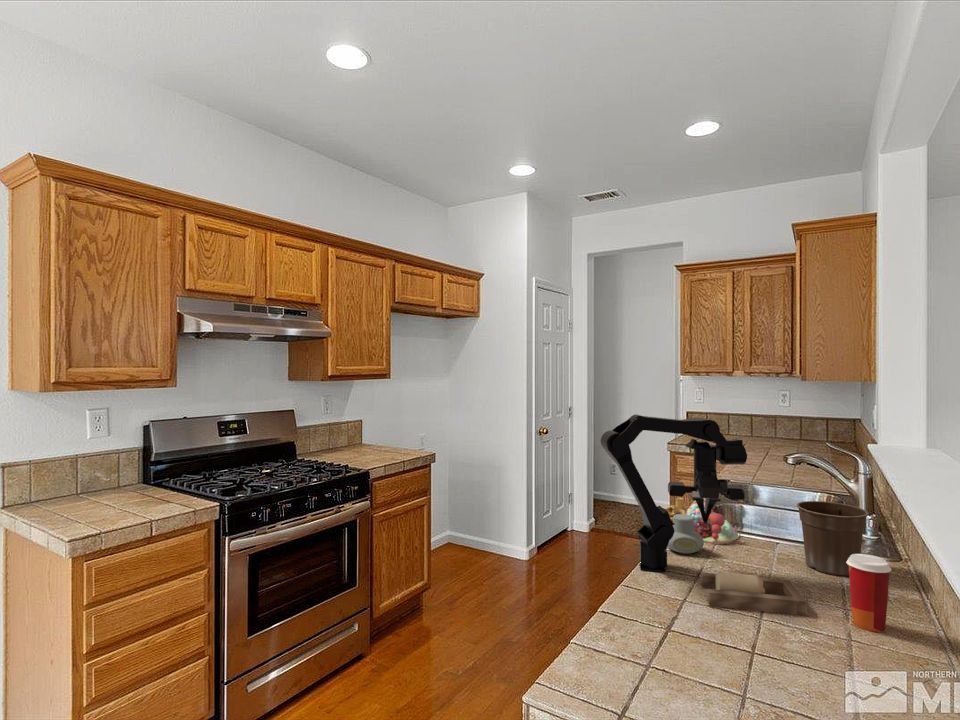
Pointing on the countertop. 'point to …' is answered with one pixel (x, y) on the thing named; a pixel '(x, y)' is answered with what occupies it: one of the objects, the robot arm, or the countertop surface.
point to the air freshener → (685, 535)
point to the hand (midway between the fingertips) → (704, 522)
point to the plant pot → (831, 534)
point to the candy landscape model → (711, 531)
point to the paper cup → (869, 591)
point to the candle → (739, 583)
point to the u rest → (758, 596)
